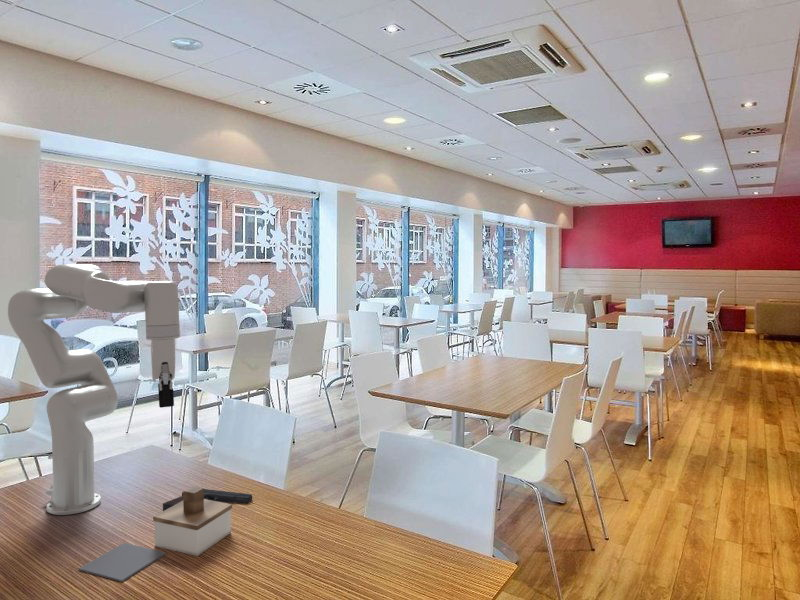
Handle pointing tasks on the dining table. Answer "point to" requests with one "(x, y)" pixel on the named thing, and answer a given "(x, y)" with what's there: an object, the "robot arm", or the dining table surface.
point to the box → (192, 535)
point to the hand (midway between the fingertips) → (166, 402)
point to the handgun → (215, 497)
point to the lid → (193, 510)
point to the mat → (122, 562)
